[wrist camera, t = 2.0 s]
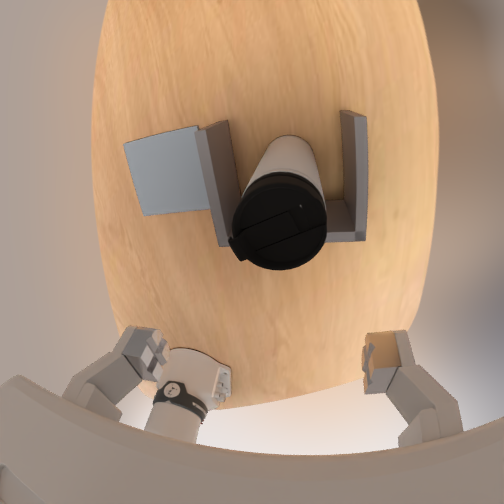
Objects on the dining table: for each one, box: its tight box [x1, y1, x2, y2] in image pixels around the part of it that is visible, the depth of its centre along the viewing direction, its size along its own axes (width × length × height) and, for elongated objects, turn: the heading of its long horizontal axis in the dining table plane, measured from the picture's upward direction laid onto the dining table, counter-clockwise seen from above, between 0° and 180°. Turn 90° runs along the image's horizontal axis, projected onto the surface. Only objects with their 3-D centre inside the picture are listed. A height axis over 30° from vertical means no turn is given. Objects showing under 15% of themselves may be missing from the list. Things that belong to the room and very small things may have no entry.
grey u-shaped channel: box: [194, 111, 368, 247], centre depth 30 cm, size 13×16×9 cm
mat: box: [123, 125, 210, 216], centre depth 37 cm, size 12×12×1 cm
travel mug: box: [228, 135, 327, 270], centre depth 25 cm, size 6×7×20 cm
